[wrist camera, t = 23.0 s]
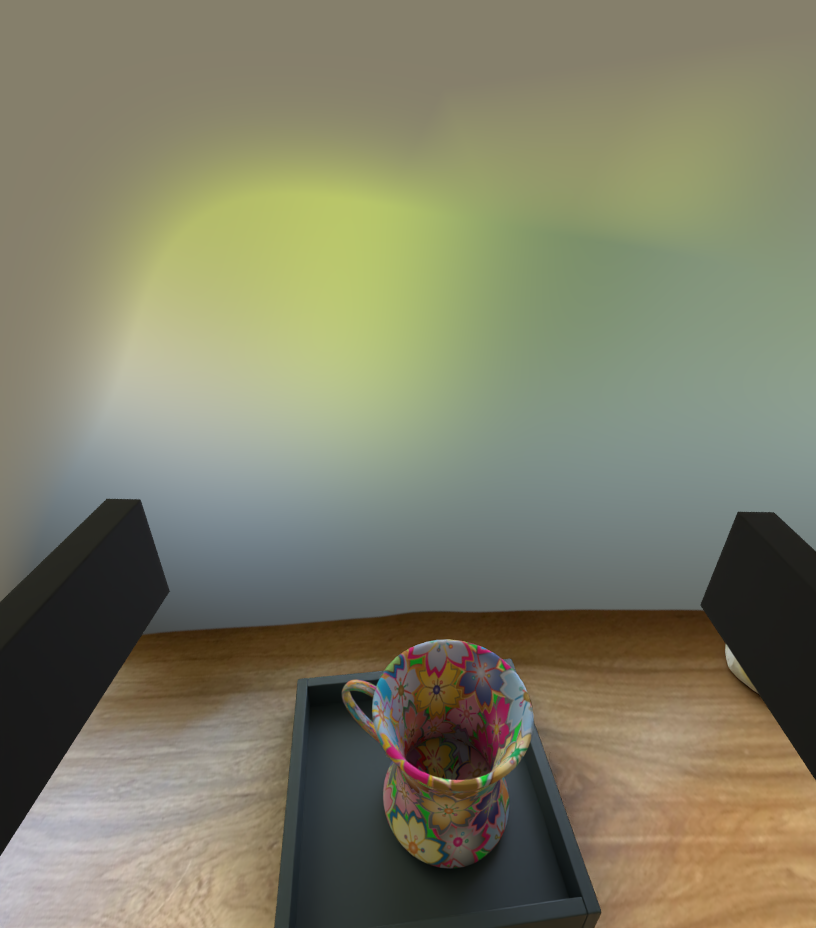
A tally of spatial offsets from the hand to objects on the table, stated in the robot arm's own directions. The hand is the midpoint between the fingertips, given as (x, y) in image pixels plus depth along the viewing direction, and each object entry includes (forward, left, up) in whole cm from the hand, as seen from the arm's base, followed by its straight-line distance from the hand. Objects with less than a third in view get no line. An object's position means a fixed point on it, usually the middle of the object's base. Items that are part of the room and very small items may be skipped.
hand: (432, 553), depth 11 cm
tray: (-5, +8, -30) cm, 32 cm away
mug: (-5, +9, -30) cm, 31 cm away
